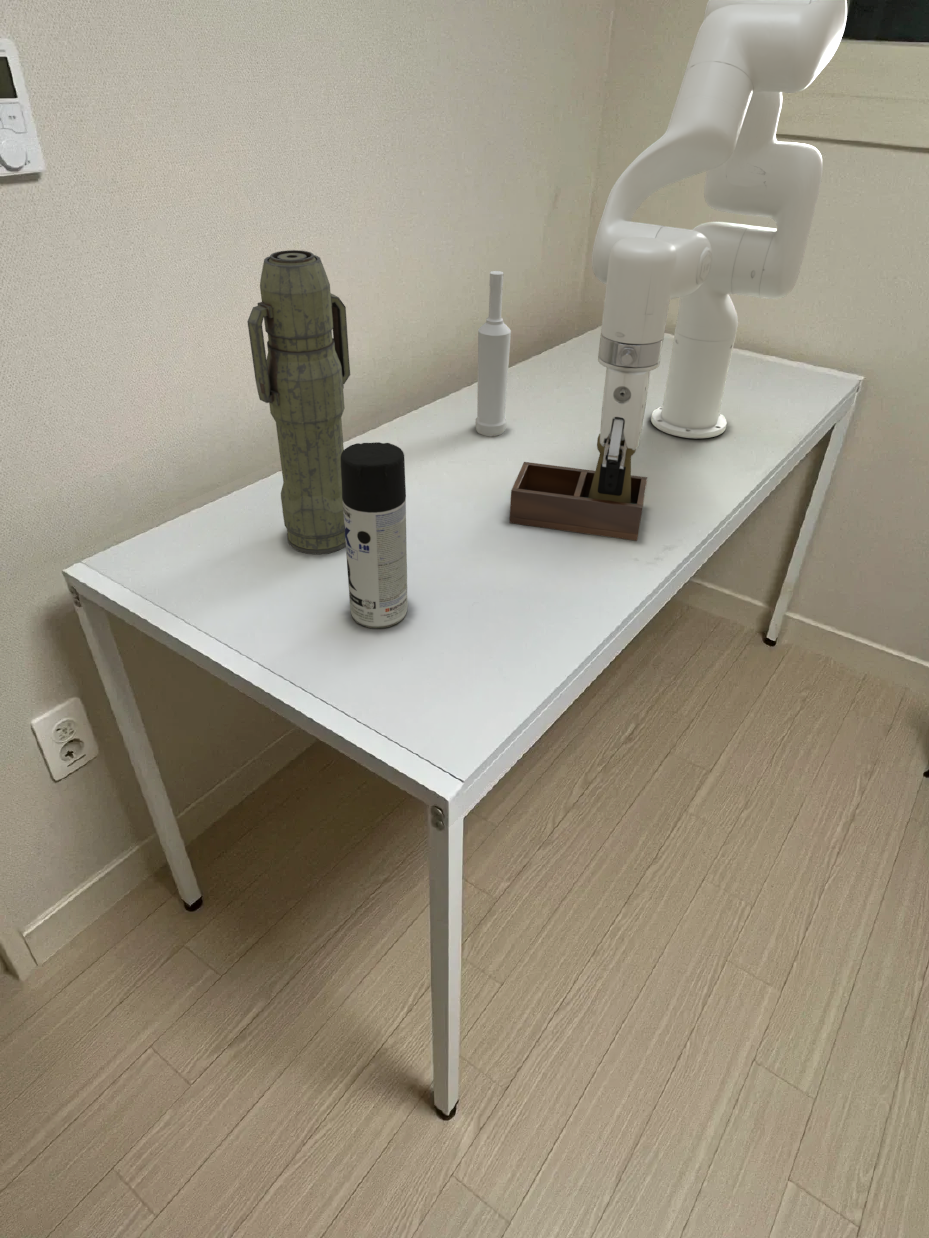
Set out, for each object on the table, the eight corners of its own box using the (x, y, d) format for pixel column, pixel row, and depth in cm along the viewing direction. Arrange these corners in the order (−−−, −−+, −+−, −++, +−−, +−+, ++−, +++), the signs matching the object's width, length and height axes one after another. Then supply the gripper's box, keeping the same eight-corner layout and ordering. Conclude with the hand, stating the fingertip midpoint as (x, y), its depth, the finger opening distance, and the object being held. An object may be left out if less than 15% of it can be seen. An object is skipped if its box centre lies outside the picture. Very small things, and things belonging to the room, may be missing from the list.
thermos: (376, 531, 111) (361, 253, 90) (307, 566, 103) (273, 272, 83) (332, 509, 115) (308, 240, 94) (264, 541, 108) (221, 257, 87)
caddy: (521, 493, 120) (523, 461, 117) (642, 509, 117) (647, 477, 114) (509, 523, 113) (511, 490, 110) (637, 541, 110) (642, 507, 107)
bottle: (503, 438, 136) (511, 278, 121) (472, 435, 136) (476, 276, 122) (508, 425, 140) (516, 269, 125) (478, 422, 140) (482, 267, 126)
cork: (634, 499, 115) (646, 425, 108) (626, 520, 110) (638, 443, 103) (591, 492, 116) (600, 418, 110) (582, 512, 112) (590, 436, 105)
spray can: (351, 596, 98) (339, 440, 86) (408, 594, 99) (404, 439, 87) (349, 630, 93) (336, 468, 81) (410, 628, 94) (405, 467, 82)
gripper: (657, 377, 93) (634, 519, 104) (665, 332, 106) (644, 462, 117) (590, 370, 95) (575, 511, 105) (606, 327, 108) (591, 456, 119)
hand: (611, 484), depth 111 cm, fingers closed on cork, 4 cm apart
